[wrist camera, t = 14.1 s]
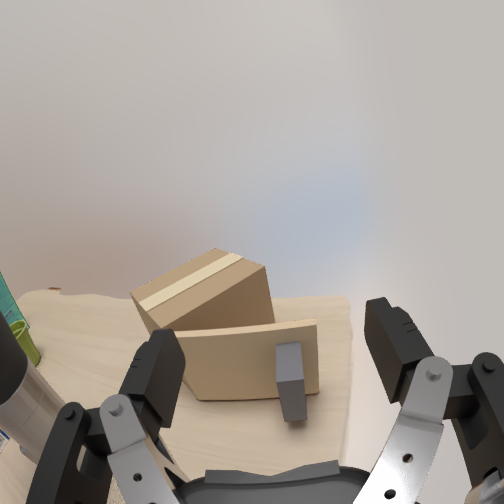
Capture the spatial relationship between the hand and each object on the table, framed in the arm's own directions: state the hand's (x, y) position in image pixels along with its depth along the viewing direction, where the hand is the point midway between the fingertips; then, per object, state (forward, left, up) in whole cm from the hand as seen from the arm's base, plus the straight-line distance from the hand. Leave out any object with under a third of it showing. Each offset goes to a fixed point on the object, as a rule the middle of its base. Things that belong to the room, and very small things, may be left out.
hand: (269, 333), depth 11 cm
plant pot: (-28, +51, -23) cm, 63 cm away
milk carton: (-35, +69, -23) cm, 81 cm away
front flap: (+4, +11, -23) cm, 25 cm away
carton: (+8, +25, -23) cm, 35 cm away
